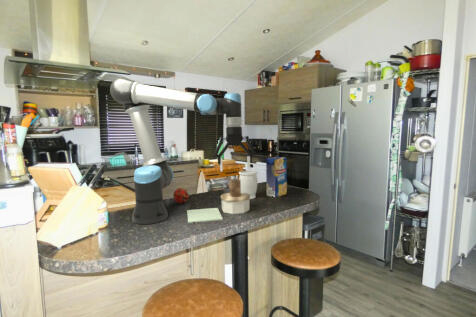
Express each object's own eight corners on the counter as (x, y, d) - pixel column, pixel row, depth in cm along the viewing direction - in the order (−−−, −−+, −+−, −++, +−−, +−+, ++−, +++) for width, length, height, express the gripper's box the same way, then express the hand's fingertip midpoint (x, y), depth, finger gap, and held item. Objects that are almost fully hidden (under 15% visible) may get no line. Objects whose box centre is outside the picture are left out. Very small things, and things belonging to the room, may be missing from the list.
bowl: (224, 214, 126) (224, 202, 125) (220, 206, 139) (220, 195, 138) (251, 212, 129) (251, 200, 128) (245, 205, 141) (244, 193, 141)
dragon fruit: (179, 202, 155) (185, 210, 145) (167, 195, 151) (173, 203, 141) (187, 189, 156) (194, 197, 146) (176, 182, 152) (182, 190, 141)
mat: (188, 223, 116) (188, 221, 116) (187, 211, 132) (187, 210, 132) (222, 220, 119) (222, 218, 119) (217, 208, 135) (217, 207, 135)
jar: (257, 195, 161) (257, 170, 160) (257, 199, 151) (257, 173, 149) (240, 195, 162) (239, 170, 161) (238, 199, 152) (238, 173, 150)
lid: (223, 202, 125) (222, 183, 124) (218, 195, 139) (218, 177, 138) (253, 200, 128) (253, 181, 127) (245, 193, 142) (245, 176, 141)
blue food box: (286, 193, 164) (286, 157, 161) (275, 197, 156) (275, 159, 154) (277, 192, 169) (277, 156, 166) (266, 195, 161) (266, 158, 158)
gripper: (208, 127, 123) (210, 173, 125) (261, 125, 128) (262, 169, 130) (207, 127, 130) (208, 170, 133) (256, 125, 135) (257, 167, 138)
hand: (235, 170), depth 132 cm, fingers open, 13 cm apart
